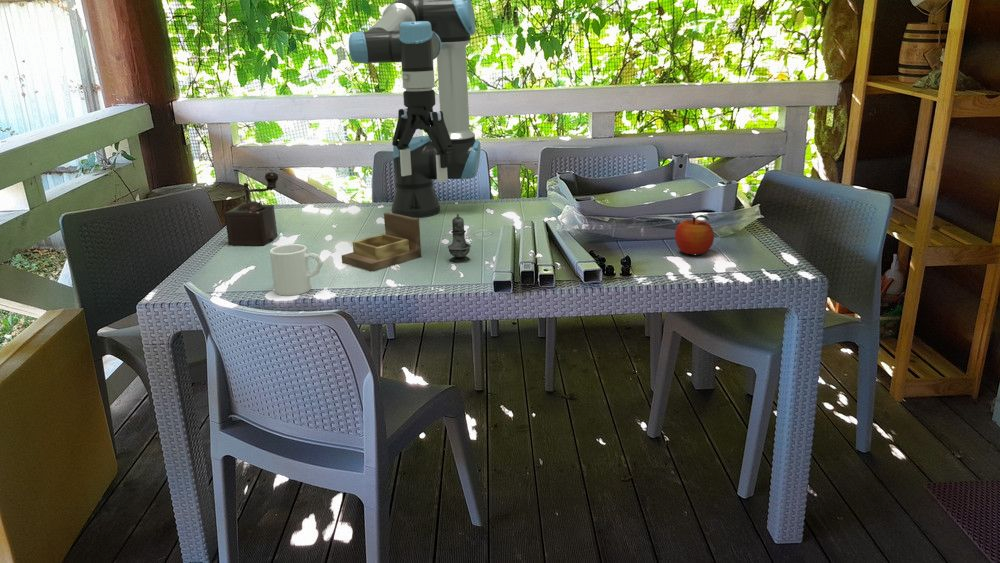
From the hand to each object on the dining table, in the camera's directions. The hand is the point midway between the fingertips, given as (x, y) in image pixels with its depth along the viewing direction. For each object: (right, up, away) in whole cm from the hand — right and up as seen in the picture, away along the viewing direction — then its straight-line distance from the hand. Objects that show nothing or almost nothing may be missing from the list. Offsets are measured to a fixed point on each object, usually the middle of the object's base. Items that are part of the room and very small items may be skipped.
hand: (424, 178), depth 199 cm
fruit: (+67, -18, +5) cm, 70 cm away
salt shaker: (+9, -20, +5) cm, 22 cm away
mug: (-27, -27, -14) cm, 41 cm away
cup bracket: (-11, -20, +7) cm, 24 cm away
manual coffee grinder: (-50, -13, +31) cm, 60 cm away
